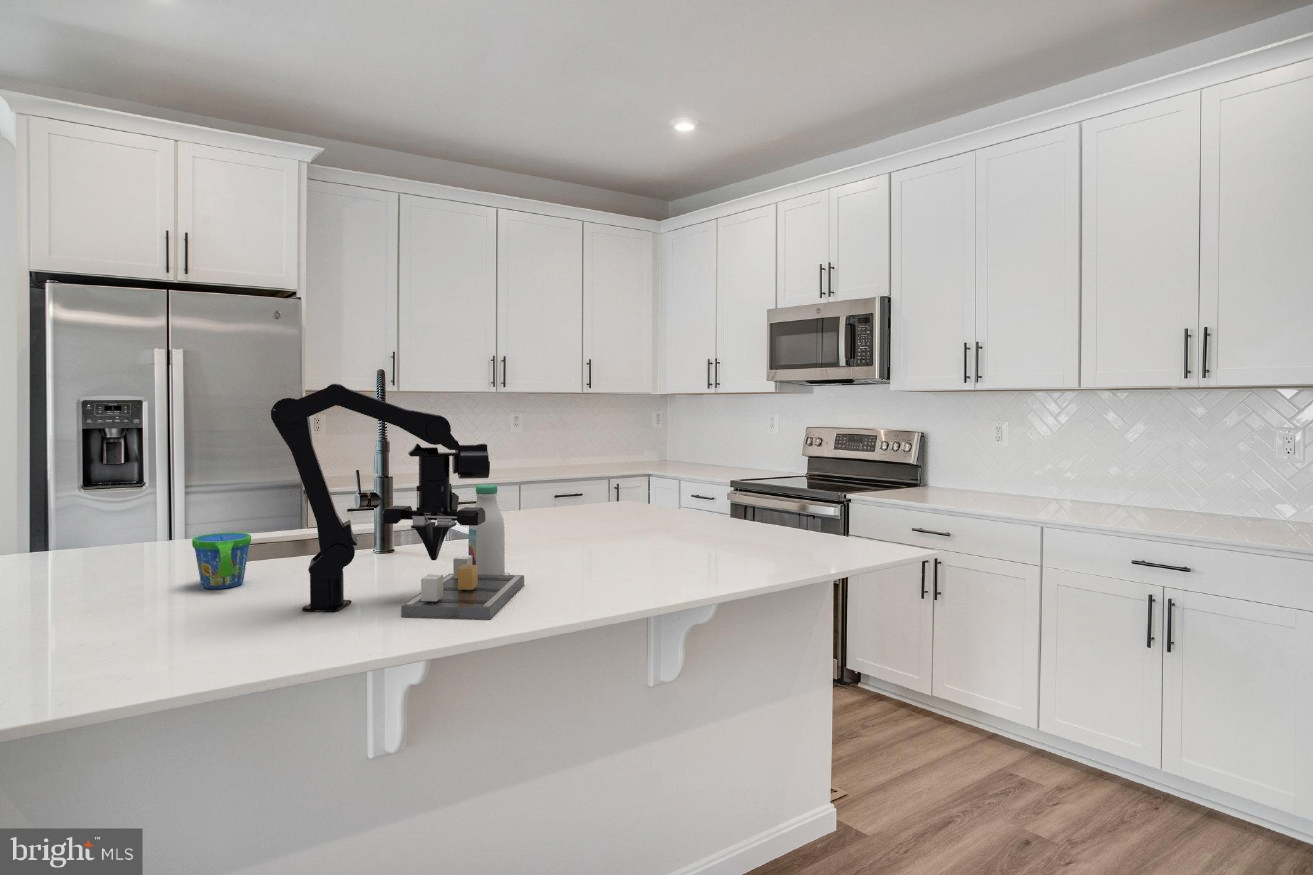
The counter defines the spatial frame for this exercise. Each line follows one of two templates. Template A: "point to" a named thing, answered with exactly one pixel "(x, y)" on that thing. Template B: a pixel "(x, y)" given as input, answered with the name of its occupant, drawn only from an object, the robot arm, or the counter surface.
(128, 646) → the counter surface
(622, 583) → the counter surface
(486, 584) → the panel
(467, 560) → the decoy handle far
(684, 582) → the counter surface
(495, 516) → the milk bottle
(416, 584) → the counter surface
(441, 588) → the grey small block
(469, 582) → the orange block
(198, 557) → the snack cup
